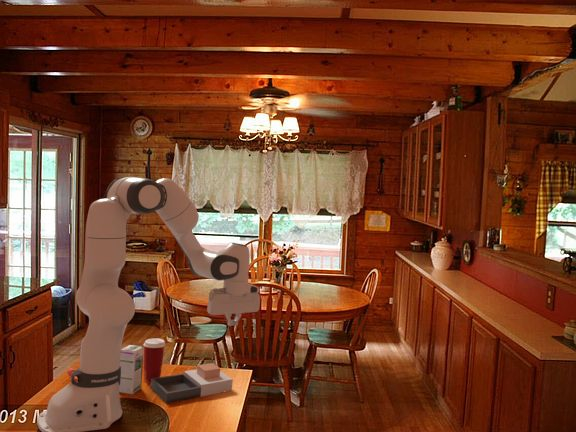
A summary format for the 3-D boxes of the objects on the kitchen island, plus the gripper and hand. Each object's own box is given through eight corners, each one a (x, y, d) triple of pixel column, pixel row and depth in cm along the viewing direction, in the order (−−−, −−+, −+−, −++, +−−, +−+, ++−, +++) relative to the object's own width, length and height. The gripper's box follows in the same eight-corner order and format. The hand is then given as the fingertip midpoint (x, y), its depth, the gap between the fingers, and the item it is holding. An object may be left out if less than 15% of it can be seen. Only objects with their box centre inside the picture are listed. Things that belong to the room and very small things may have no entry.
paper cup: (167, 379, 169) (170, 341, 169) (151, 385, 163) (153, 345, 162) (152, 373, 173) (155, 336, 173) (135, 379, 167) (138, 340, 167)
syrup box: (132, 394, 154) (135, 351, 154) (116, 392, 155) (119, 348, 155) (141, 388, 159) (144, 346, 159) (125, 385, 161) (128, 344, 160)
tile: (204, 379, 161) (204, 370, 161) (196, 373, 166) (197, 365, 166) (219, 376, 165) (220, 368, 165) (211, 371, 170) (212, 363, 170)
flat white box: (200, 396, 156) (201, 384, 156) (183, 382, 168) (184, 371, 168) (231, 390, 164) (232, 379, 163) (213, 377, 175) (214, 366, 175)
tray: (166, 403, 149) (166, 393, 149) (150, 387, 161) (151, 378, 160) (200, 396, 156) (201, 387, 156) (183, 382, 168) (184, 373, 168)
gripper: (213, 290, 161) (210, 330, 161) (263, 288, 173) (260, 325, 174) (205, 287, 166) (202, 325, 167) (254, 284, 178) (251, 320, 179)
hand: (232, 325), depth 170 cm, fingers closed
